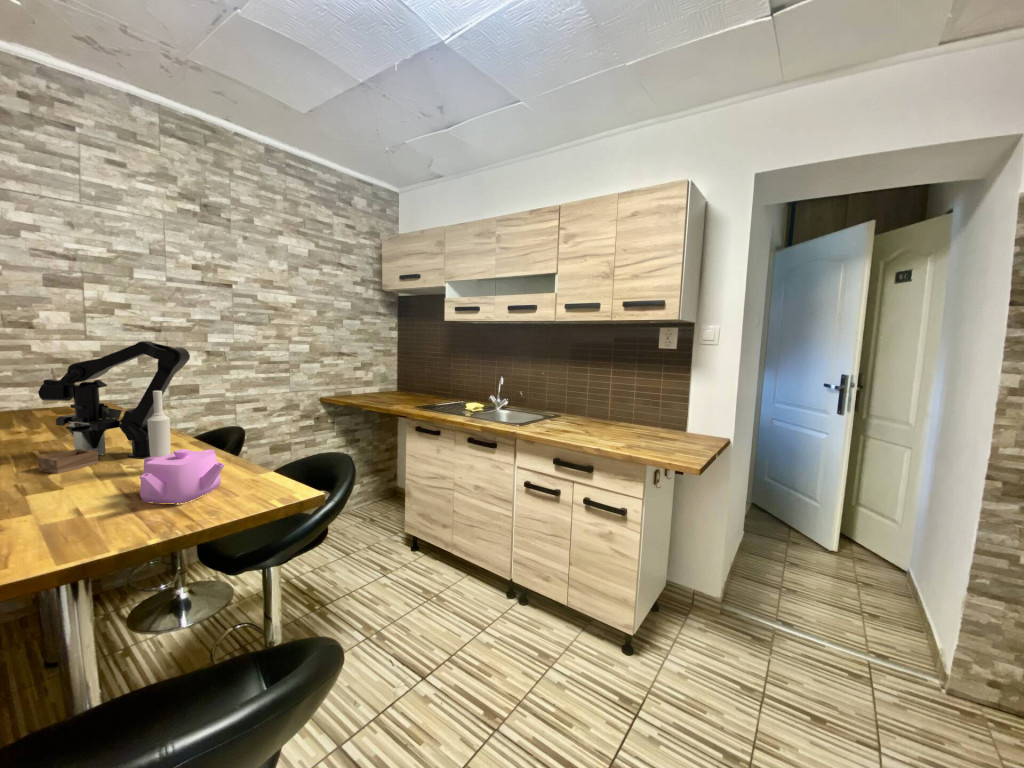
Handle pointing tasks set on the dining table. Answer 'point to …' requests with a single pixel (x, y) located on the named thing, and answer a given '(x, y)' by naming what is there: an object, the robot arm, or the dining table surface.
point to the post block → (67, 461)
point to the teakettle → (180, 476)
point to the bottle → (159, 429)
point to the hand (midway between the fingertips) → (90, 447)
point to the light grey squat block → (83, 442)
